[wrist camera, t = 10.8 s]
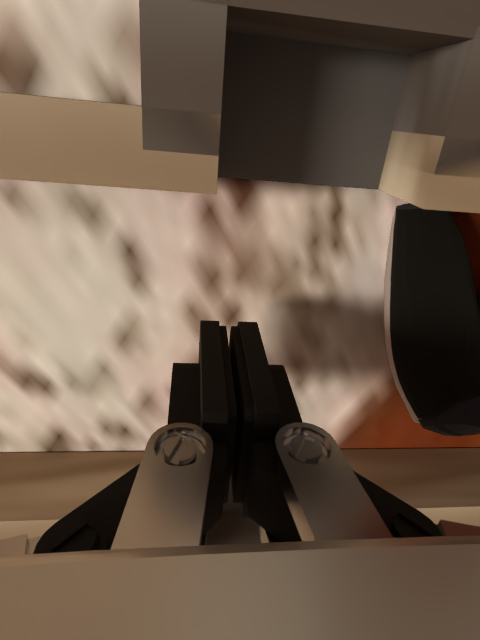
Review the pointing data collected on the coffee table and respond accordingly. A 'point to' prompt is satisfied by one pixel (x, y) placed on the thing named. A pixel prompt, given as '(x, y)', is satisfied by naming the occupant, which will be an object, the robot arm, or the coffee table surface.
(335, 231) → the coffee table surface
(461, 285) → the gaming controller
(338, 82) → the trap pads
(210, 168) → the channel
